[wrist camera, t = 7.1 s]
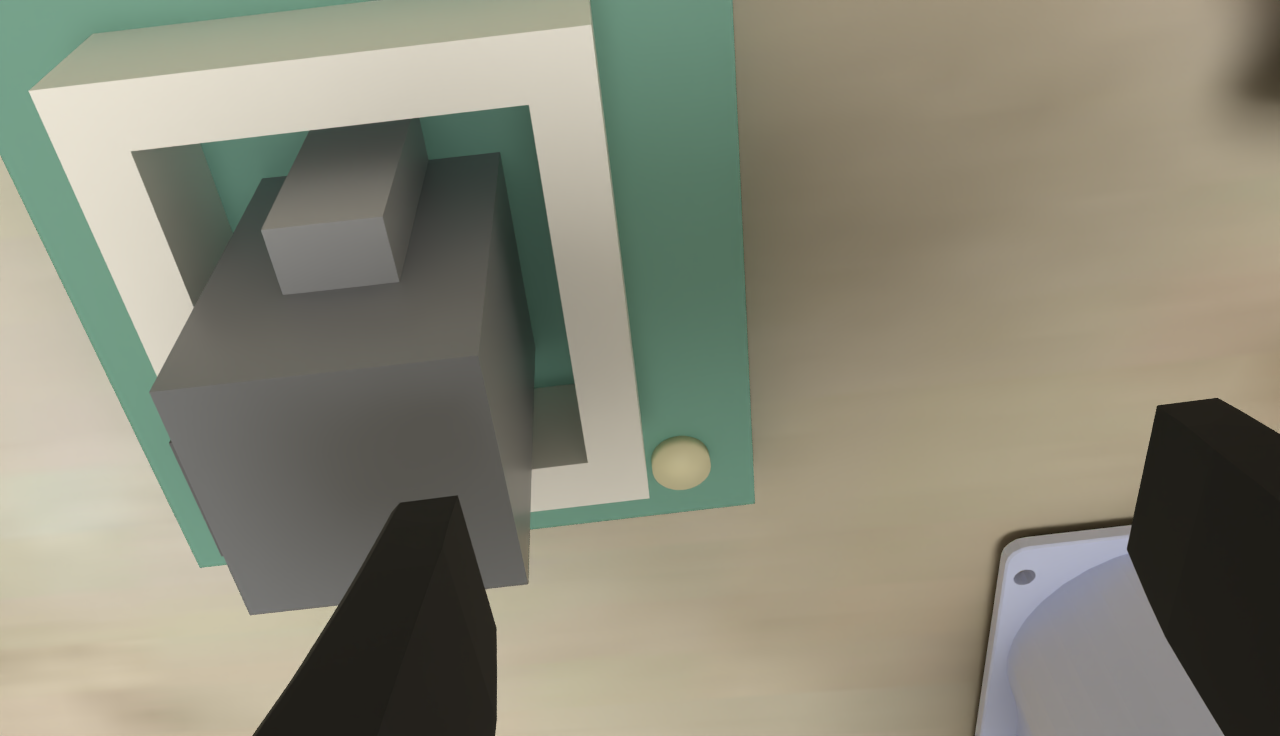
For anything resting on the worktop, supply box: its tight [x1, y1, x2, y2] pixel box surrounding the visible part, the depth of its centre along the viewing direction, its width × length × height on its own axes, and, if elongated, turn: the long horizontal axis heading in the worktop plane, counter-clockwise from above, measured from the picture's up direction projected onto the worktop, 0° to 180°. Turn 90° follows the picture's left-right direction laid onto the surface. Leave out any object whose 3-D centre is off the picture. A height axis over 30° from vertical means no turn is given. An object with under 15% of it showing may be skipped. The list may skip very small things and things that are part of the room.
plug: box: [149, 118, 535, 615], centre depth 16 cm, size 5×4×6 cm
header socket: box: [29, 0, 650, 512], centre depth 18 cm, size 9×8×2 cm
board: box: [0, 0, 755, 568], centre depth 19 cm, size 14×12×2 cm
